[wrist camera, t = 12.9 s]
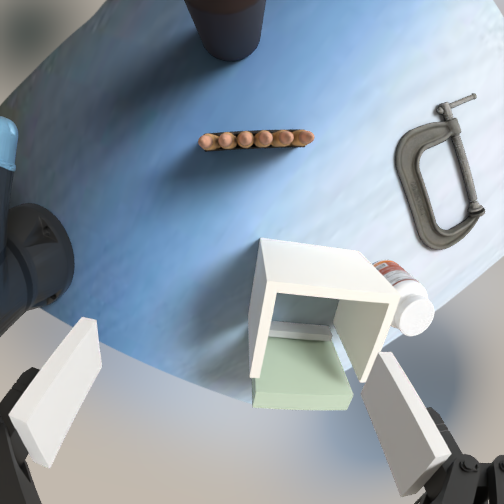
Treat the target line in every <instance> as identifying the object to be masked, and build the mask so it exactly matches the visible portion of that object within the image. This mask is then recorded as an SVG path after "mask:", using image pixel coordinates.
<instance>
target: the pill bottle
mask: <svg viewBox="0 0 504 504" xmlns="http://www.w3.org/2000/svg"><path fill="white" fill-rule="evenodd" d="M373 266H374V267H375V268H376V269H377V270H378V271H379V272H380V273H381V274H382V275H383V276H384V277H385V278H386V279H387V280H388V282H389V283H390V284H391V285H392V286H393V287H394V288H395V289H396V290H397V291H398V292H399V293H400V294H401V297H400V300H399V303H398V306H397V309H396V311H395V314H394V317H393V320H392V323H391V326H392V327H394V328H398V329H399V330H400V331H401V332H402V333H403V334H405V335H407V336H415V335H418V334H420V333H422V332H423V331H424V330H425V329H427V328H428V326H429V325H430V323H431V321H432V320H433V317H434V307H433V305H432V303H431V302H430V301H429V300H428V295H427V292H426V290H425V288H424V287H423V286H422V285H421V284H420V283H419V282H418V281H417V280H416V279H414V278H413V277H412V276H411V275H410V274H409V273H408V272H406V271H405V270H404V269H403V268H402V267H401V266H399V265H398V264H397V263H395V262H394V261H391V260H381V261H378V262H376V263H374V264H373Z"/></svg>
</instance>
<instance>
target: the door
mask: <svg viewBox="0 0 504 504" xmlns="http://www.w3.org/2000/svg"><path fill="white" fill-rule="evenodd" d="M352 397H353V393H352V390H351V387H350V385H349V382H348V380H347V377H346V375H345V372H344V370H343V367H342V365H341V362H340V360H339V357H338V355H337V352H336V350H335V348H334V345H333V343H332V340H331V341H319V340H305V339H292V338H280V337H270V336H268V339H267V344H266V349H265V354H264V359H263V363H262V368H261V373H260V378H252V406H253V407H254V408H269V409H290V410H347V408H348V406H349V404H350V402H351V399H352Z"/></svg>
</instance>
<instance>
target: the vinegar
mask: <svg viewBox="0 0 504 504" xmlns="http://www.w3.org/2000/svg"><path fill="white" fill-rule="evenodd" d="M184 1H185V3H186V5H187V8H188V10H189V12H190V15H191V17H192V19H193V21H194V24H195V26H196V28H197V31H198V33H199V35H200V38H201V40H202V42H203V45H204V47H205V48H206V50H207V51H208V52H209V54H211V55H213V56H214V57H216V58H218V59H221V60H224V61H235V60H239V59H243V58H245V57H247V56H248V55H250V54H251V53H252V52H253V51H254V50H255V49H256V48H257V46H258V44H259V41H260V36H261V29H262V23H263V16H264V10H265V4H266V0H184Z"/></svg>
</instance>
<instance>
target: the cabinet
mask: <svg viewBox="0 0 504 504" xmlns="http://www.w3.org/2000/svg"><path fill="white" fill-rule="evenodd" d="M277 293H286V294H295V295H304V296H314V297H324V298H334V299H339V303H338V306H337V310H336V313H335V317H334V320H333V324H334V326H335V328H336V331H337V333H338V335H339V337H340V339H341V342H342V344H343V346H344V348H345V350H346V353H347V355H348V357H349V359H350V362H351V364H352V366H353V368H354V371H355V373H356V375H357V377H358V380H359V382H366V380H367V378H368V376H369V373H370V371H371V369H372V366H373V364H374V361H375V359H376V356H377V354H378V352H381V349H382V347H383V344H384V341H385V339H386V336H387V334H388V331H389V328H390V326H391V323H392V320H393V317H394V314H395V311H396V309H397V306H398V303H399V300H400V297H401V294H400V293H399V292H398V291H397V290H396V289H395V288H394V287H393V286H392V285H391V284H390V283H389V282H388V280H387V279H386V278H385V277H384V276H383V275H382V274H381V273H380V272H379V271H378V270H377V269H376V268H375V267H374V266H373V265H372V264H371V263H370V262H369V261H368V260H367V259H366V258H365V257H364V256H363V255H362V254H361V253H360V252H359V251H354V250H347V249H340V248H333V247H325V246H318V245H311V244H304V243H297V242H289V241H282V240H274V239H267V238H260V242H259V248H258V255H257V261H256V268H255V274H254V280H253V287H252V293H251V299H250V305H249V312H248V335H249V377H250V378H260V373H261V368H262V363H263V359H264V354H265V349H266V344H267V339H268V336H270V337H280V338H292V339H305V340H319V341H331V339H332V336H333V335H332V332H331V330H330V328H329V326H326V325H314V324H302V323H291V322H280V321H271V319H272V314H273V309H274V304H275V299H276V294H277Z"/></svg>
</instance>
